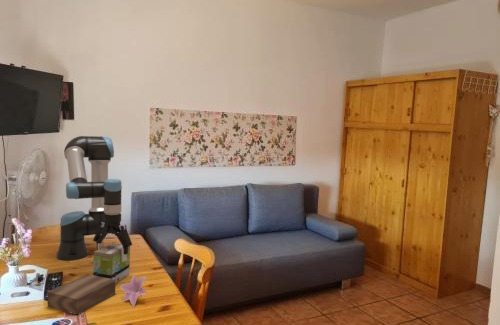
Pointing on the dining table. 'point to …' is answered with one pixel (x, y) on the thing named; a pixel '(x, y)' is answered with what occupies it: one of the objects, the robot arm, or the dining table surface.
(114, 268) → the tea box
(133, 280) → the lily
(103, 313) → the dining table surface
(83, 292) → the walnut block
